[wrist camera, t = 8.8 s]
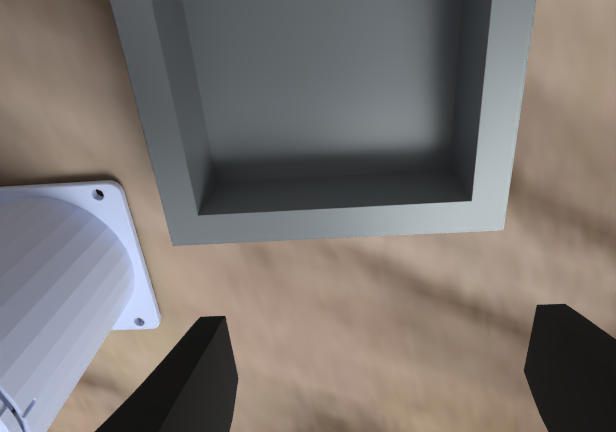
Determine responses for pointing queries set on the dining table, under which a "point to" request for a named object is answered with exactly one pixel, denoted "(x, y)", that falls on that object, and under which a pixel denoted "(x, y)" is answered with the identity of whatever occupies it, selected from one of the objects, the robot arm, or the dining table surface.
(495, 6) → the case
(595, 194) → the dining table surface
